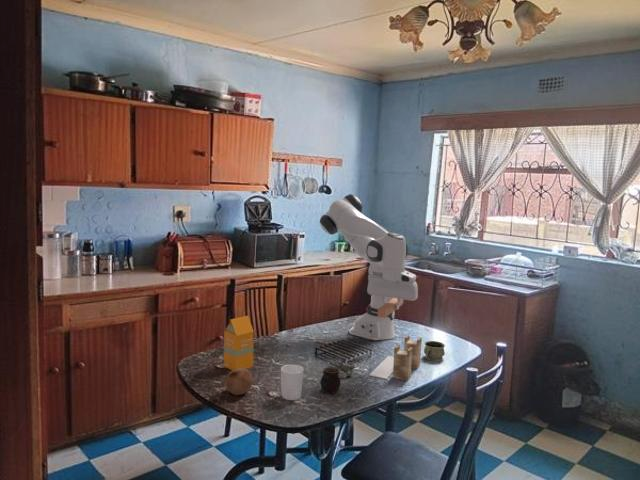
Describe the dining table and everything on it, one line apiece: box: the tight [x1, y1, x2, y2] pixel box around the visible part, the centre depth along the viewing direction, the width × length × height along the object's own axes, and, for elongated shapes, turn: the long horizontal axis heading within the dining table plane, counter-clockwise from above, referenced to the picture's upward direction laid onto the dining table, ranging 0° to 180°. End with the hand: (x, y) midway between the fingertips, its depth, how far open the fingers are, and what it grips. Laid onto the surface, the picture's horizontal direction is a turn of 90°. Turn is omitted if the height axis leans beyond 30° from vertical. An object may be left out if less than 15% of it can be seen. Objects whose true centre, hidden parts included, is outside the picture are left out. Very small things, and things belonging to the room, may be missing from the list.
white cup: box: [280, 364, 304, 401], centre depth 177 cm, size 8×8×10 cm
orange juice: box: [223, 315, 255, 371], centre depth 202 cm, size 8×9×20 cm
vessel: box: [423, 340, 446, 362], centre depth 220 cm, size 12×9×6 cm
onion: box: [225, 368, 254, 396], centre depth 178 cm, size 10×9×10 cm
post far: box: [403, 334, 423, 370], centre depth 210 cm, size 6×4×12 cm, turn 65°
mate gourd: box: [319, 364, 342, 394], centre depth 183 cm, size 7×8×10 cm
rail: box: [378, 298, 404, 318], centre depth 204 cm, size 3×24×3 cm, turn 154°
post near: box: [392, 344, 413, 382], centre depth 197 cm, size 6×4×12 cm, turn 64°
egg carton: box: [327, 360, 356, 379], centre depth 200 cm, size 11×8×4 cm
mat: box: [369, 355, 394, 381], centre depth 208 cm, size 7×24×1 cm, turn 154°
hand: (391, 308), depth 204 cm, fingers closed on rail, 3 cm apart
